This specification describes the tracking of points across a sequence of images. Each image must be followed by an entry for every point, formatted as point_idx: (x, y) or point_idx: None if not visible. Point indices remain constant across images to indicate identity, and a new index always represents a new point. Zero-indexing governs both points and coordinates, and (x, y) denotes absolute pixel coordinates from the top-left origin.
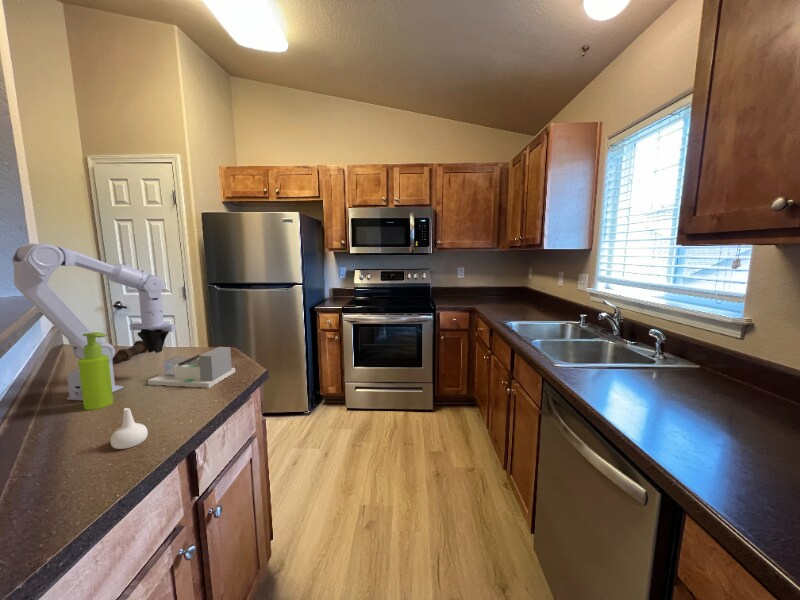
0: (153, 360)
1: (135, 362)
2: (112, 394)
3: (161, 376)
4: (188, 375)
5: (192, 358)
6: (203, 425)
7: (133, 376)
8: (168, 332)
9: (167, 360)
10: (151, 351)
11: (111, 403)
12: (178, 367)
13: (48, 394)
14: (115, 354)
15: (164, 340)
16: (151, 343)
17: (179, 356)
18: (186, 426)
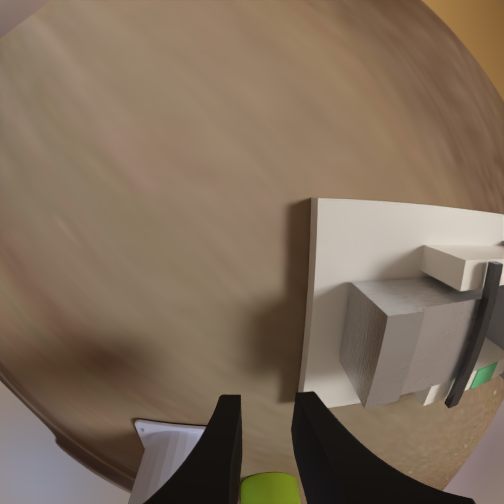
0: (51, 104)
1: (9, 155)
2: (296, 492)
3: (331, 372)
4: None
5: (486, 332)
6: (478, 442)
7: (142, 328)
8: (465, 500)
9: (380, 396)
10: (241, 426)
11: (296, 480)
12: (439, 397)
13: (78, 441)
14: None
15: (375, 457)
16: (235, 478)
17: (414, 316)
18: (462, 454)
